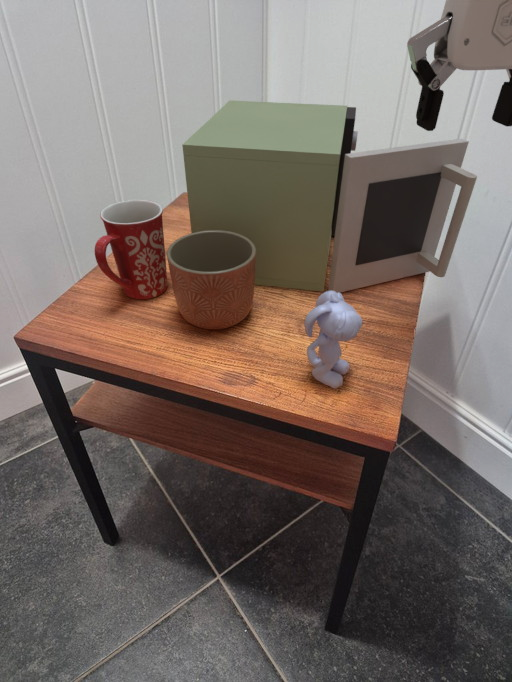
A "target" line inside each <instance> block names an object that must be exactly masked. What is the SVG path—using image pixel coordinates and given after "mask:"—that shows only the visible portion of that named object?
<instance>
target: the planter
mask: <svg viewBox="0 0 512 682" xmlns="http://www.w3.org/2000/svg"><path fill="white" fill-rule="evenodd" d="M166 260H167V264H168V269H169V270H168V271H169V275H170V279H171V280H170V281H171V285H172V290H173V294H174V299H175V303H176V305H177V308H178V309H177V310H178V311H179V313H180V315H181V316H182V318H183V319H184V320H185V321H187V322H188V323H189V324H191V325H193V326H195V327H198V328H199V329H205V330H222V329H223V330H224V329H227V328H231V327H233V326H235V325H238V324H239V323H241V322H242V321H243V320H244V319H245V318H246V317H247V316H248V315H249V314H250V311H251V309H252V306H253V302H254V296H255V286H256V285H255V262H256V248H255V246H254V244H253V243H252V242H251V241H250V240H249V239H248V238H246V237H245V236H242V235H240V234H237V233H234V232H229V231H222V230H207V231H199V232H195V233H188V234H185V235H183V236H181V237H178V238H177V239H176V240H174V241H173V242H172V243H171V244H170V245H169V247H167V251H166Z"/></svg>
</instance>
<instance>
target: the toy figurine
mask: <svg viewBox="0 0 512 682" xmlns="http://www.w3.org/2000/svg"><path fill="white" fill-rule="evenodd" d="M315 323H317V326H318V327H319V332H318V336H316V337H317V338H315V340H313V341H312V342H311V343H310V344H309V345H308V347H307V348H306V357H307V359H308V362H309V364H310V365H311V366H312V367H313V369H312V370H311V375H312V377H313V378H314V379H315V380H316V381H317V382H319V383H321V384H323V385H325V386H328V387H330V388H331V389H338V388H339V387H342V386H343V384H344V378H343V376H342V375H346V374H347V373H348V372H349V371H350V364H349V361H347V360H345V359H342V358H341V357H342V356H343V353H342V352H343V351H342V348H341V344H340V342H348V341H351V340H354V339H355V338H356V337H357V336H358V334H359V333H360V330H361V328H362V326H363V320H362V317H361V315H360V314H359V313H358V312H357V310H356V309H355V308H354V307H353V306H352V305H351V304H350V303H348V302H346V301H345V298H344V296H343V295H342V292H338V293H336V292H335V291H333V290H330V291H329V290H326V291H324V292H322V293H321V294H320V295H319V296H318V297H317V299H316V302H315V306H314V308H312V309H311V310H310V311H309V312H308V313H307V315H306V317H305V319H304V331H305V333H306V336H307V337H308V338H312V337H313V328H314V325H315ZM317 348H318V354H317V351H316V349H317Z"/></svg>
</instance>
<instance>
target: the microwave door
mask: <svg viewBox="0 0 512 682" xmlns="http://www.w3.org/2000/svg"><path fill="white" fill-rule="evenodd" d="M469 142H470V141H469V140H466V139H464V138H455V139H447V140H440V141H433V142H425V143H418V144H411V145H410V144H409V145H403V146H395V147H388V148H381V149H373V150H366V151H359V152H351V153H350V154H345V159H344V167H343V175H342V183H341V190H340V198H339V206H338V214H337V222H336V230H335V236H334V239H333V247H332V255H331V260H330V269H329V270H330V271H329V277H328V286H327V291H330V290H333V291H335V292H336V293H338V292H340V293H344V292H349V291H353V290H357V289H361V288H366V287H370V286H374V285H379V284H382V283H386V282H387V283H388V282H390V281H391V282H392V281H396V280H399V279H403V278H404V279H405V278H408V277H412V276H416V275H421V274H425V273H431V274H433V275H434V276H435V277H437V278H444V277H446V274H447V270H448V268H449V265H450V262H451V258H452V256H453V252H454V249H455V246H456V244H457V241H458V237H459V234H460V231H461V228H462V226H463V221H464V219H465V216H466V212H467V210H468V207H469V203H470V200H471V197H472V194H473V191H474V189H475V185H476V181H477V178H478V176H477V174H474V173H473V172H470V171H469V170H466V169H464V168H463V167H462V166H463V162H464V159H465V156H466V152H467V150H468V146H469ZM456 185H457V186H459V187H460V189H459V193H458V196H457V200H456V203H455V206H454V210H453V212H452V216H451V219H450V223H449V226H448V228H447V232H446V235H445V239H444V242H443V245H442V248H441V251H440V255H439V257H438V258H436V253H437V250H438V246H439V243H440V239H441V237H442V233H443V230H444V226H445V223H446V221H447V220H446V219H447V216H448V213H449V209H450V207H451V203H452V200H453V196H454V192H455V189H456Z"/></svg>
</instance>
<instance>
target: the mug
mask: <svg viewBox="0 0 512 682" xmlns="http://www.w3.org/2000/svg"><path fill="white" fill-rule="evenodd" d="M163 213H164V209H163V207H162V205H160V204H159V203H158V202H155V201H151V200H147V199H127V200H122V201H118V202H114V203H112V204H109V205H107V206H106V207H104V208H103V209H102V210H101V211H100V213H99V217H100V220H101V221H102V222H103V225H104V229H105V232H106V235H103V236H101V237H99V238H98V240H97V241H96V243H95V246H94V257H95V262H96V264H97V266H98V268H99V269H100V270H101V272H102V273H103V274H104V275H105V276H106V277H107V278H109V279H110V280H111V281H113V282H114V283H115V284H117V285H119V286H121V287H122V289H123V292H124V294H125V296H127V297H129V298H131V299H135V300H148V299H153V298H157V297H158V296H161V295H162V294H164V293H165V292H166V290H168V273H167V272H168V271H167V256H166V248H165V247H166V246H165V236H164V225H163V224H164V223H163ZM108 246H110V249H111V252H112V255H113V259H114V263H115V266H116V269H117V272H118V275H117V274H116V273H114V272H113V270H112V268H111V267H110V266H109V264H108V263H109V262H108V259H107V249H108Z"/></svg>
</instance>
